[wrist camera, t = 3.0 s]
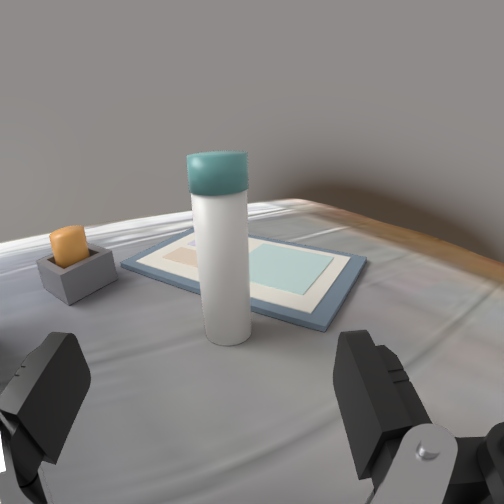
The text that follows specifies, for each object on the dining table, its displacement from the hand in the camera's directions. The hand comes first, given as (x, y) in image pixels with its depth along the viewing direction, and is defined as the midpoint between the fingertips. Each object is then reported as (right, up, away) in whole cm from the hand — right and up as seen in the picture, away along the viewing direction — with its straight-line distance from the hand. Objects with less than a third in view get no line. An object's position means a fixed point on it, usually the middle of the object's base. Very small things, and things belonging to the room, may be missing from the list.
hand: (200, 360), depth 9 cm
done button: (-16, +1, +19) cm, 25 cm away
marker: (0, -2, +13) cm, 14 cm away
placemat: (0, +2, +23) cm, 23 cm away
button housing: (-16, 0, +20) cm, 25 cm away
